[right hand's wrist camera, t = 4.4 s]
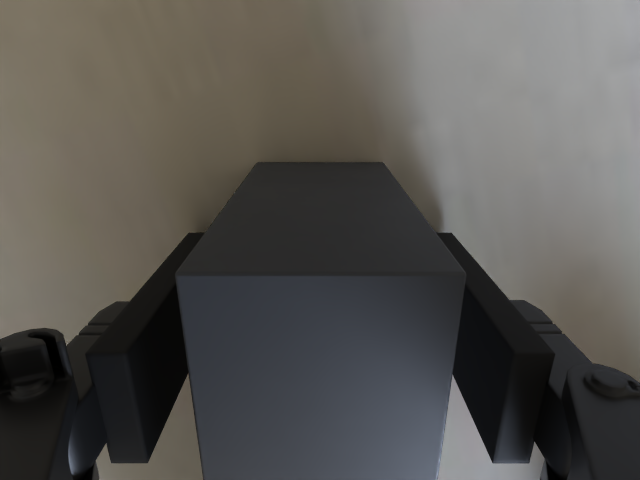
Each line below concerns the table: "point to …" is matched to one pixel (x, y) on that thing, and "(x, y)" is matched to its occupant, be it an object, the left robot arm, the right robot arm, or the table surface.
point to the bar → (320, 328)
